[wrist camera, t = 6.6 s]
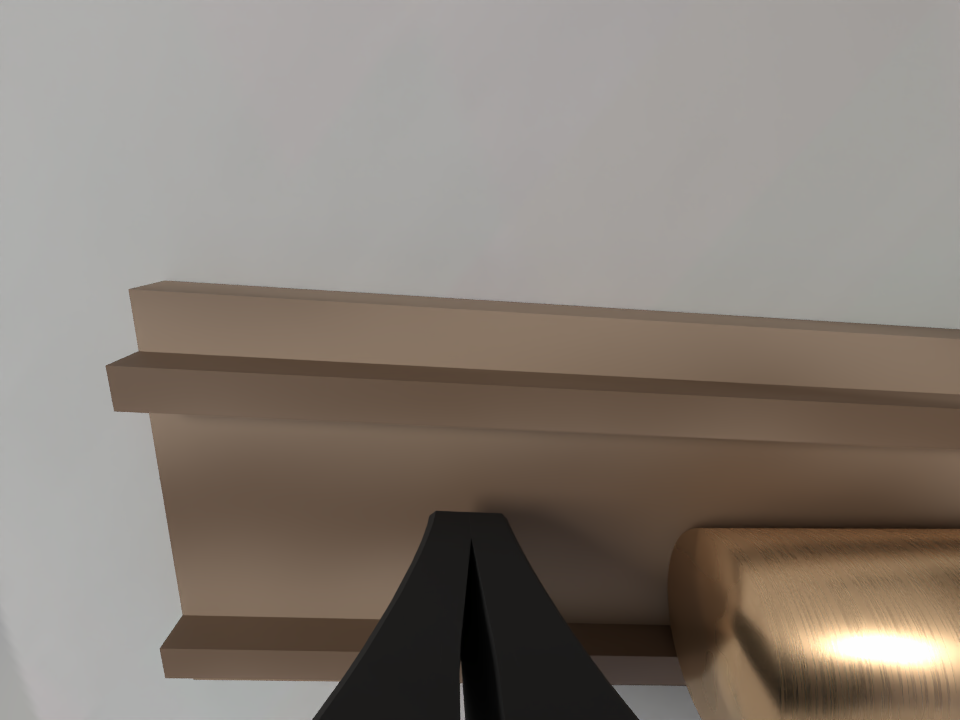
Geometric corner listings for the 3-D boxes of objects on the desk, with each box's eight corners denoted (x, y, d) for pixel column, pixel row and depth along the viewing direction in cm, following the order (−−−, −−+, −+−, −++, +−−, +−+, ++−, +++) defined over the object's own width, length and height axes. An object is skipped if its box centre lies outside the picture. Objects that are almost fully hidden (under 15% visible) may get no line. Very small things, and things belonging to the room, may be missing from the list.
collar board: (1175, 657, 13) (1800, 1047, 7) (215, 640, 11) (-60, 1124, 5) (1390, 355, 10) (2735, 566, 4) (164, 280, 9) (-515, 441, 3)
